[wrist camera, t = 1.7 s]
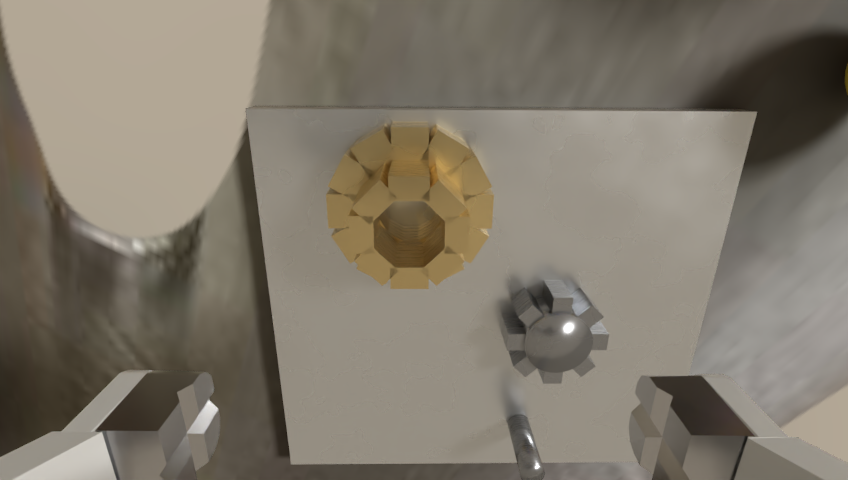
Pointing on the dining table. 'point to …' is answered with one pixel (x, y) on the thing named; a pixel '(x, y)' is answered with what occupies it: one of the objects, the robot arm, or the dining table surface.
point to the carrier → (497, 283)
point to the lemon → (846, 79)
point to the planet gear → (410, 181)
